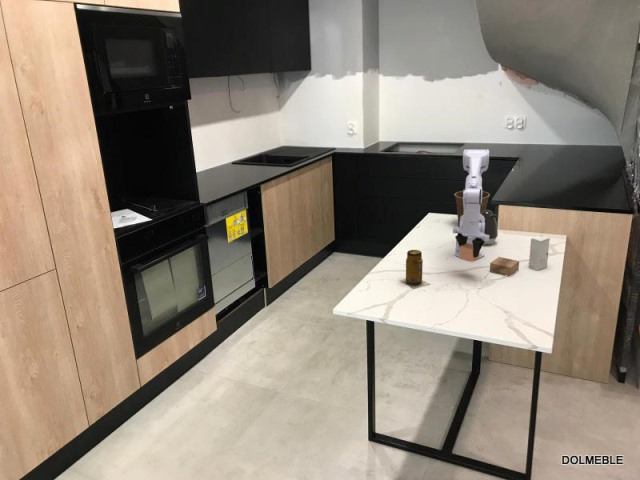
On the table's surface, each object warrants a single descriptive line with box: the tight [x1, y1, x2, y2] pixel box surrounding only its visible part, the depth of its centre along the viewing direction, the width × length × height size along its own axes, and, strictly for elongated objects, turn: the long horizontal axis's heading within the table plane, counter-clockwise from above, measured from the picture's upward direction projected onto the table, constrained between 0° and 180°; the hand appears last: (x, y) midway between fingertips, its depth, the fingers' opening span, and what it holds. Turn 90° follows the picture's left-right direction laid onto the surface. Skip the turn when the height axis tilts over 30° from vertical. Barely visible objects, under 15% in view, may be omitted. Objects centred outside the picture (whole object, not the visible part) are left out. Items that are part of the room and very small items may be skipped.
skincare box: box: [528, 235, 551, 271], centre depth 194 cm, size 6×4×12 cm
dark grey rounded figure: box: [479, 209, 499, 246], centre depth 222 cm, size 10×10×15 cm
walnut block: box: [489, 256, 520, 277], centre depth 194 cm, size 8×8×4 cm
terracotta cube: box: [459, 243, 480, 263], centre depth 189 cm, size 5×5×5 cm
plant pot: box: [454, 190, 491, 228], centre depth 245 cm, size 16×16×16 cm
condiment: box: [400, 249, 430, 289], centre depth 186 cm, size 7×8×12 cm
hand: (469, 254), depth 189 cm, fingers closed on terracotta cube, 5 cm apart
